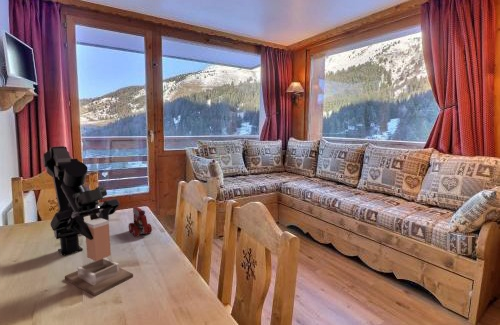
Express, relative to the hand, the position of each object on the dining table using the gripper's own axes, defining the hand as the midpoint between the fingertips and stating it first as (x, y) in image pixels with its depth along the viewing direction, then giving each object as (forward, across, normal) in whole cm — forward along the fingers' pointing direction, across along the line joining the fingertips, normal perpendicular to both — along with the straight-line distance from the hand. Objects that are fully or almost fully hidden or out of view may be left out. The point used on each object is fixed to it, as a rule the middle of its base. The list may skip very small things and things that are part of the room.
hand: (100, 236), depth 86 cm
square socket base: (+8, 0, +10) cm, 14 cm away
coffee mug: (-20, +26, +40) cm, 51 cm away
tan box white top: (+4, 0, +6) cm, 7 cm away
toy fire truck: (-5, +30, +25) cm, 39 cm away
